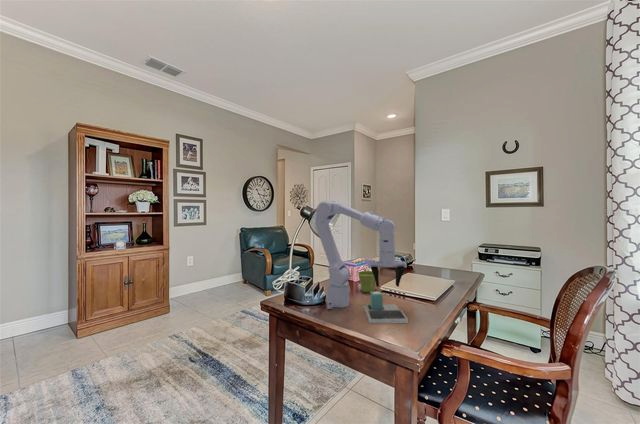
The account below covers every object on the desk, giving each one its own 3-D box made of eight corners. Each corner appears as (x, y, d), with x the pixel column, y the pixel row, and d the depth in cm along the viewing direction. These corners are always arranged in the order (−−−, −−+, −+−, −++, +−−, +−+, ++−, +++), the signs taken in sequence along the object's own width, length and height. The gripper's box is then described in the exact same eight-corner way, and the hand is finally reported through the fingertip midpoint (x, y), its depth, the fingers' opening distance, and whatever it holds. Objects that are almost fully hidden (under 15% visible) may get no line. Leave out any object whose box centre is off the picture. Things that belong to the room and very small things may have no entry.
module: (372, 310, 101) (372, 294, 101) (370, 306, 105) (370, 291, 105) (382, 310, 101) (382, 294, 101) (380, 306, 105) (380, 291, 105)
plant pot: (353, 290, 128) (353, 272, 128) (367, 286, 133) (367, 269, 133) (367, 295, 120) (367, 277, 120) (381, 291, 125) (381, 273, 125)
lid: (366, 315, 99) (366, 312, 99) (363, 306, 108) (363, 304, 108) (401, 314, 99) (401, 312, 99) (395, 306, 107) (395, 303, 107)
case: (369, 325, 91) (369, 319, 91) (366, 314, 99) (365, 309, 99) (408, 325, 91) (408, 319, 91) (401, 314, 99) (401, 309, 99)
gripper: (369, 253, 97) (370, 289, 97) (409, 252, 96) (409, 289, 97) (366, 249, 104) (367, 283, 104) (403, 249, 103) (403, 283, 104)
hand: (387, 285), depth 101 cm, fingers open, 7 cm apart
